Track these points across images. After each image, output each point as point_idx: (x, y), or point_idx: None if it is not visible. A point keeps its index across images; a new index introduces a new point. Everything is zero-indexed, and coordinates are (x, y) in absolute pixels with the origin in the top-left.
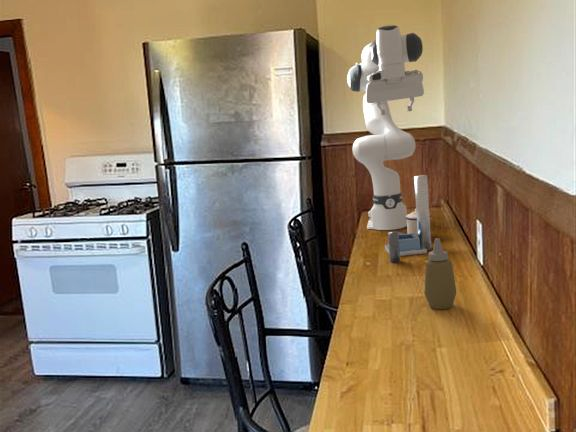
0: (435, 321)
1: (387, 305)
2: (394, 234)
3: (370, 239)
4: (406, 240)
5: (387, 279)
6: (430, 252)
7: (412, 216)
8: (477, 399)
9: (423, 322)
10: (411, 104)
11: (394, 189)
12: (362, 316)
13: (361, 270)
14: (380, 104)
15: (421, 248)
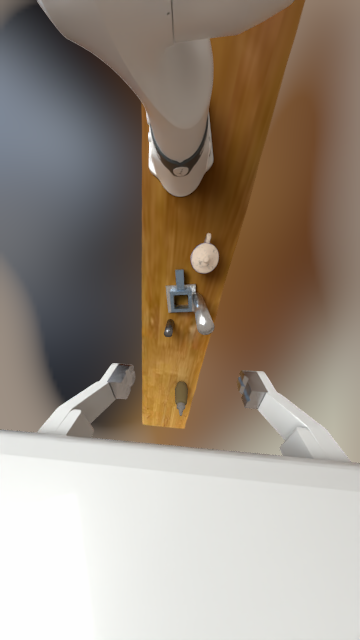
0: None
1: (160, 379)
2: (168, 336)
3: (153, 241)
4: (181, 311)
5: (162, 352)
6: (177, 406)
7: (196, 268)
8: (176, 422)
9: (172, 393)
10: (270, 418)
11: (191, 148)
12: (150, 385)
13: (148, 334)
14: (89, 434)
15: (192, 308)
